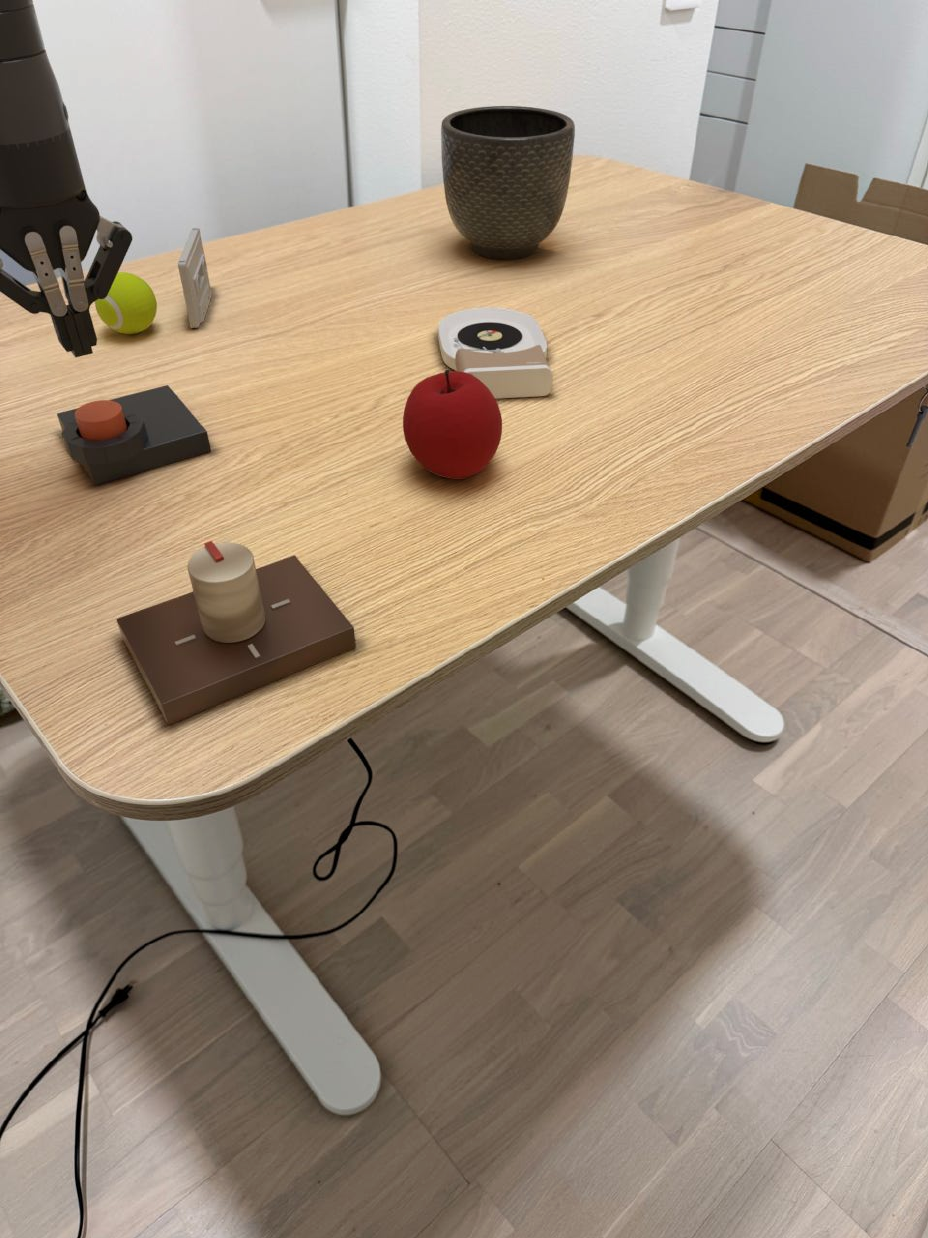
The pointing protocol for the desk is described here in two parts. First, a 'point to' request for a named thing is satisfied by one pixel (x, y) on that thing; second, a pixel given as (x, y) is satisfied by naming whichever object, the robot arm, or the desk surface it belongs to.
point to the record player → (497, 350)
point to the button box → (138, 437)
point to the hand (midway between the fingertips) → (81, 352)
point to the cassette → (195, 278)
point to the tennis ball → (128, 304)
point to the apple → (452, 424)
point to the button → (100, 420)
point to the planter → (506, 176)
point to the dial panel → (215, 671)
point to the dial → (227, 591)
